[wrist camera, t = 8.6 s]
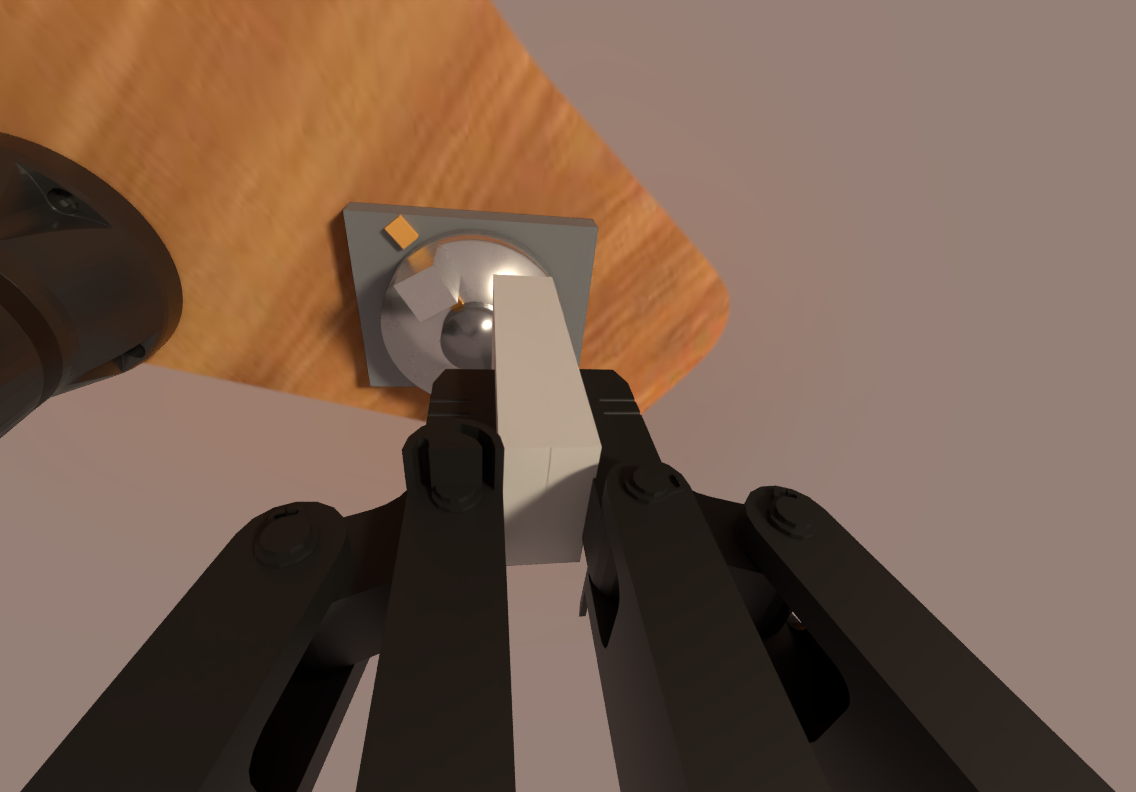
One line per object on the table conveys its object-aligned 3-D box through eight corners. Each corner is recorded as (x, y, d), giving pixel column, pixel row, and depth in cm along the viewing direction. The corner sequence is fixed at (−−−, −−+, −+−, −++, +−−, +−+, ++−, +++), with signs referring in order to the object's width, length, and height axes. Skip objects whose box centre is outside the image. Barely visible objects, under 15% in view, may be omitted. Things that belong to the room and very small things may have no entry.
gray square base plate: (375, 372, 38) (368, 390, 36) (350, 201, 31) (340, 212, 29) (572, 374, 41) (577, 392, 39) (592, 219, 34) (600, 230, 32)
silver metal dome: (505, 406, 39) (508, 463, 34) (359, 339, 34) (335, 394, 29) (592, 288, 34) (613, 333, 29) (437, 189, 29) (426, 221, 24)
